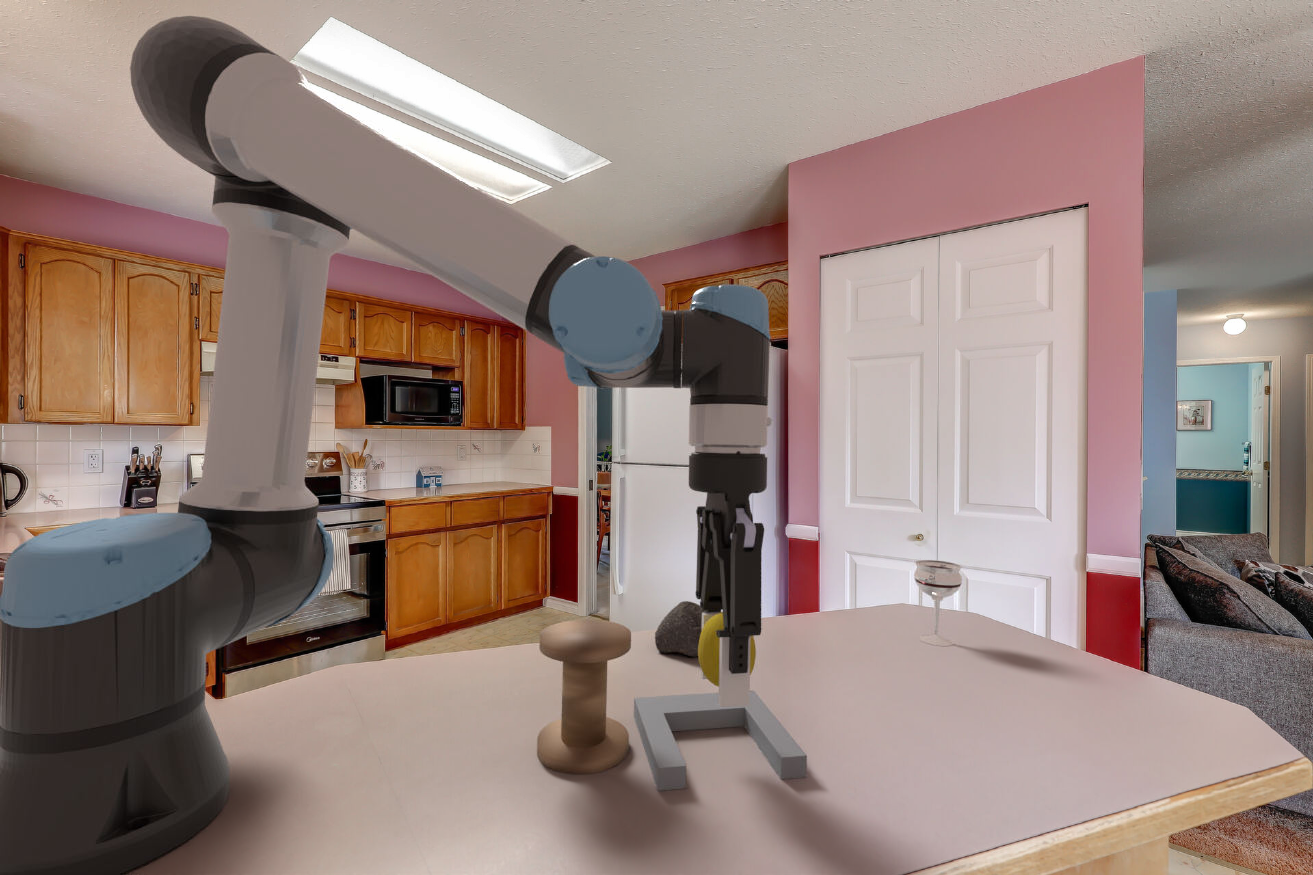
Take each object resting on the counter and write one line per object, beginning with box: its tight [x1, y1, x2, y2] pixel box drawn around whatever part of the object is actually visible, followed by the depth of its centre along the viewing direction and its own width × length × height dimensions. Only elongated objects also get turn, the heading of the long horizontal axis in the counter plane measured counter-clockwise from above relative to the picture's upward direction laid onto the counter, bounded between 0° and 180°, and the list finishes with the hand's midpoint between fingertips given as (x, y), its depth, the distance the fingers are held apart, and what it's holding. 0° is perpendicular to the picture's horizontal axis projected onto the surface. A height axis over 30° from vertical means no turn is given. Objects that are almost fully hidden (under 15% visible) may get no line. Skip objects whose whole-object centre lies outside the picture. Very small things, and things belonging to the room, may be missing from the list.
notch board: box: [633, 690, 808, 792], centre depth 60 cm, size 14×14×2 cm
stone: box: [654, 600, 705, 658], centre depth 86 cm, size 10×8×10 cm
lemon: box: [697, 611, 757, 688], centre depth 57 cm, size 6×6×8 cm
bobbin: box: [536, 619, 632, 775], centre depth 58 cm, size 9×9×11 cm
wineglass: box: [914, 559, 963, 647], centre depth 93 cm, size 7×7×12 cm
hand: (723, 689), depth 57 cm, fingers closed on lemon, 5 cm apart
